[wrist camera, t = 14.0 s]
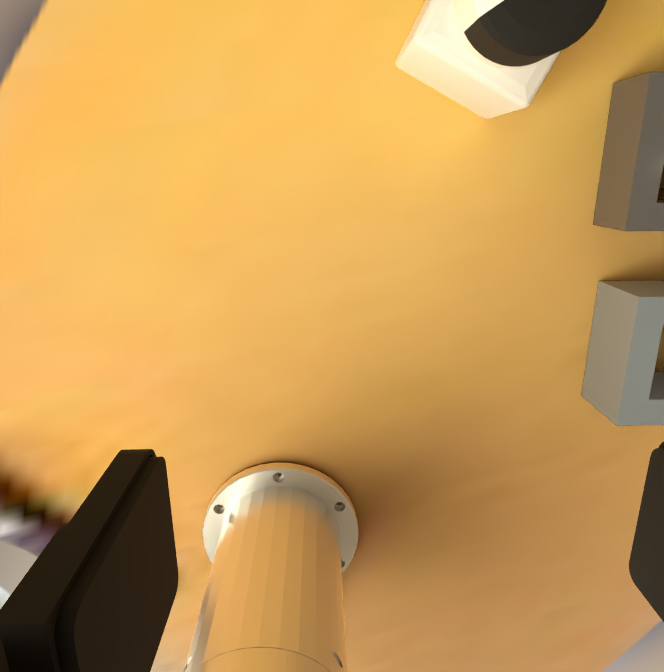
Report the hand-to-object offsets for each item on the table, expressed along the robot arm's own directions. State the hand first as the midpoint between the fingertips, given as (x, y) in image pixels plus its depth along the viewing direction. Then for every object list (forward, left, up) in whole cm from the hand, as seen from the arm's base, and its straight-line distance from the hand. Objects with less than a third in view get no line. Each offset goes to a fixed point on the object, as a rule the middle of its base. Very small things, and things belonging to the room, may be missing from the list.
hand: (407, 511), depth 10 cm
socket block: (-6, -23, -28) cm, 37 cm away
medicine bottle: (+14, -8, -28) cm, 33 cm away
